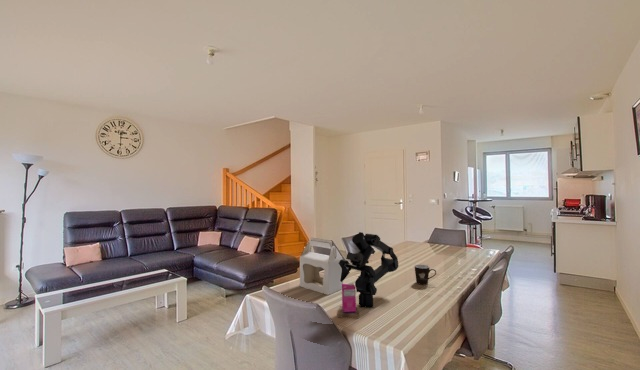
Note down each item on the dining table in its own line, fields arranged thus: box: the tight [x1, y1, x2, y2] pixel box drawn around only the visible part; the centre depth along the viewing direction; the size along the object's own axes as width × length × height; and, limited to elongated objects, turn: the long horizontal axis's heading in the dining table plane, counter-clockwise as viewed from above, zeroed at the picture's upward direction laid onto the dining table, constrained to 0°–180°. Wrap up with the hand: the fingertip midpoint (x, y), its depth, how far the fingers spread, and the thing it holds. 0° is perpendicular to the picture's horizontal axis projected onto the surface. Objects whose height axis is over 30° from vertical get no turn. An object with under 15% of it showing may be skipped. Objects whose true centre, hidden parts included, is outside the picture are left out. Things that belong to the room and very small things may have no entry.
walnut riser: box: [337, 305, 360, 319], centre depth 137 cm, size 9×9×2 cm
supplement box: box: [341, 283, 357, 313], centre depth 137 cm, size 6×6×12 cm
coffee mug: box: [414, 264, 437, 286], centre depth 178 cm, size 12×9×10 cm
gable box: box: [299, 237, 344, 296], centre depth 172 cm, size 22×13×28 cm, turn 50°
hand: (348, 283), depth 137 cm, fingers open, 9 cm apart
